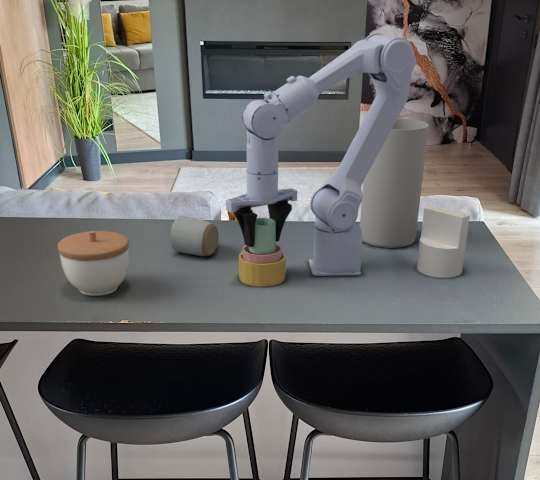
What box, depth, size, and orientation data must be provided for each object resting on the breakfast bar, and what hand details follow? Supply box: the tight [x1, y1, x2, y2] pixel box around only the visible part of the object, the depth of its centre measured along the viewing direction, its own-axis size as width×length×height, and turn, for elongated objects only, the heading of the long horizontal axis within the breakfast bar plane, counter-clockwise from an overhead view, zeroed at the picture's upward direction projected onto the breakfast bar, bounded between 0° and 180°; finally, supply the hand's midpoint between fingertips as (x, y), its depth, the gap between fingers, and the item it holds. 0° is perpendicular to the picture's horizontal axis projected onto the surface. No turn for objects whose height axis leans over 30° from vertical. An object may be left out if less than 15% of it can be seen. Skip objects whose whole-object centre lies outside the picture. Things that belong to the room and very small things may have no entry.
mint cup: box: [249, 217, 277, 254], centre depth 134 cm, size 5×5×6 cm
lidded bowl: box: [57, 230, 130, 297], centre depth 130 cm, size 13×13×11 cm
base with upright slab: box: [416, 204, 471, 279], centre depth 140 cm, size 9×9×12 cm
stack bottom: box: [238, 251, 287, 288], centre depth 137 cm, size 9×9×4 cm
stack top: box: [242, 243, 283, 264], centre depth 137 cm, size 8×8×6 cm
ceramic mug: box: [169, 215, 219, 257], centre depth 149 cm, size 11×8×8 cm
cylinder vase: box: [359, 117, 429, 249], centre depth 152 cm, size 12×12×25 cm
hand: (262, 242), depth 135 cm, fingers closed on mint cup, 5 cm apart
